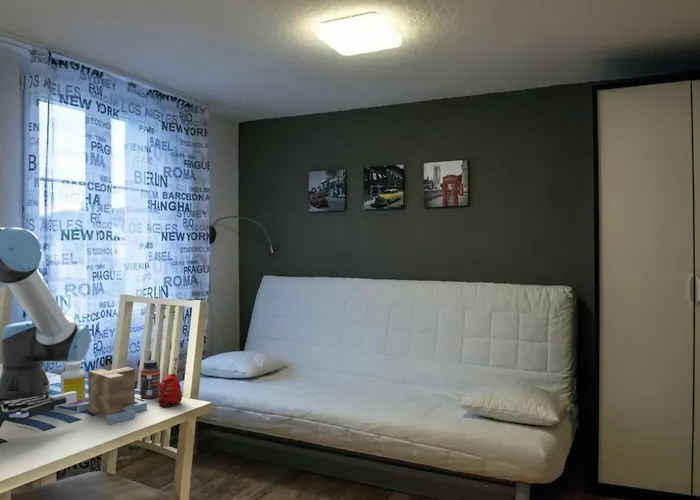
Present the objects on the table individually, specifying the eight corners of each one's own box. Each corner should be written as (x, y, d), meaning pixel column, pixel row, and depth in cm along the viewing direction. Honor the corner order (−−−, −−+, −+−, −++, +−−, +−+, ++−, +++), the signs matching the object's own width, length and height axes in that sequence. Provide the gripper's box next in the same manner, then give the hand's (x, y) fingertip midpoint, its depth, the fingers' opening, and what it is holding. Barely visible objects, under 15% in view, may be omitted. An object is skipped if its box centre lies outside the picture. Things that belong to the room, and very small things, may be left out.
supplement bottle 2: (153, 399, 180) (153, 363, 179) (136, 398, 181) (136, 362, 180) (163, 394, 185) (163, 359, 185) (146, 393, 187) (146, 358, 186)
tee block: (88, 411, 167) (88, 371, 166) (119, 403, 175) (119, 364, 174) (110, 420, 160) (110, 377, 159) (142, 411, 168) (142, 371, 167)
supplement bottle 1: (88, 404, 173) (88, 362, 173) (65, 409, 169) (65, 366, 168) (79, 400, 178) (79, 359, 178) (57, 404, 173) (57, 362, 173)
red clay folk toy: (155, 402, 177) (156, 354, 176) (178, 399, 180) (179, 352, 180) (160, 409, 170) (160, 359, 170) (184, 406, 174) (184, 357, 173)
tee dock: (76, 411, 167) (76, 404, 167) (120, 400, 178) (120, 394, 178) (109, 424, 156) (109, 417, 156) (154, 411, 167) (154, 405, 167)
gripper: (-31, 427, 142) (63, 405, 161) (-9, 439, 134) (87, 414, 153) (-32, 397, 142) (63, 379, 161) (-9, 408, 134) (87, 387, 153)
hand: (75, 396), depth 157 cm, fingers closed
